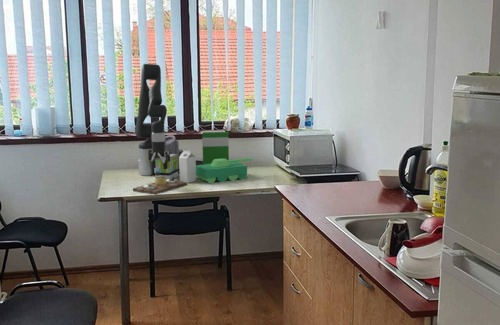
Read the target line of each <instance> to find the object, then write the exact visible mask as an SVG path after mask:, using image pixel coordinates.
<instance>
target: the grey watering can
mask: <svg viewBox="0 0 500 325" xmlns="http://www.w3.org/2000/svg"><path fill="white" fill-rule="evenodd" d="M183 150H184V149H181V148H179V140H178V139H176V136H175V135H172V134H169V135H168V134H167V135H165V151H169V152H170V154H178V175H180V172H179V156H180V155H181V154H182V152H183Z"/></svg>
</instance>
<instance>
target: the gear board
mask: <svg viewBox="0 0 500 325" xmlns="http://www.w3.org/2000/svg"><path fill="white" fill-rule="evenodd" d="M187 184H188V183H187V182H182V181H180V180H179V179H177V178H174V177H172V179H167V180H166V186H158V185H157V186H156V185H155V182H151V183H148V184H145V185H141V186H137V187H133V188H132V192H136V193H143V194H152V195H156V194H160V193H163V192H167V191H170V190H173V189H176V188H180V187H183V186H186V185H187Z"/></svg>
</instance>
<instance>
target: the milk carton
mask: <svg viewBox="0 0 500 325" xmlns="http://www.w3.org/2000/svg"><path fill="white" fill-rule="evenodd" d="M182 150H183V152H182V154H181V155H180V156H179V172H180V174H179V181H182V182H187V184H189V183H193V182H197V176H196V165H197V161H196V160H197V158H196V155H194V154H193V153H192V151H191V150H187V149H182Z"/></svg>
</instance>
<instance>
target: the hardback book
mask: <svg viewBox="0 0 500 325" xmlns="http://www.w3.org/2000/svg"><path fill="white" fill-rule="evenodd" d="M201 138H202V143H201V144H202V165H204V164H212V162H213V160H214V159H227V160H230V155H229V153H230V152H229V148H230V147H229V143H230V142H229V131H202V133H201Z"/></svg>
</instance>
